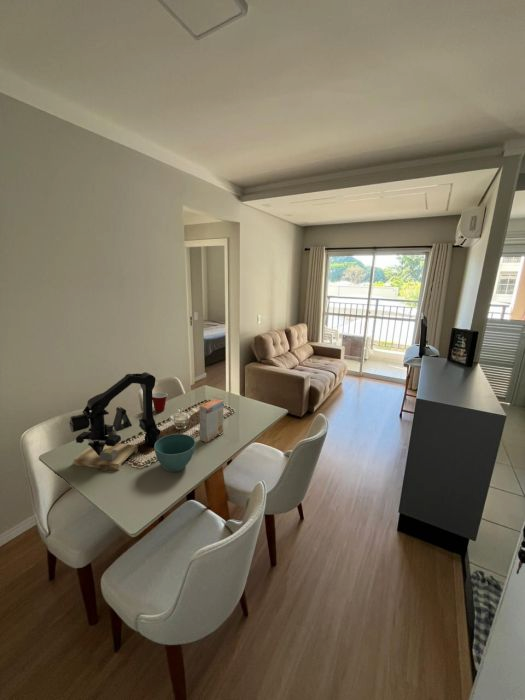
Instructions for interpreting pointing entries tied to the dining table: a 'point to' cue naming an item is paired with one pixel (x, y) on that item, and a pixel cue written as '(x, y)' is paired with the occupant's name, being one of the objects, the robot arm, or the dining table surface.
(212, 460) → the dining table surface
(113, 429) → the bottle
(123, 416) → the phone stand
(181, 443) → the teal bowl
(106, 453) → the stud finder
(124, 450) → the wooden board
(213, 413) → the cracker box
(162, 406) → the plastic cup
